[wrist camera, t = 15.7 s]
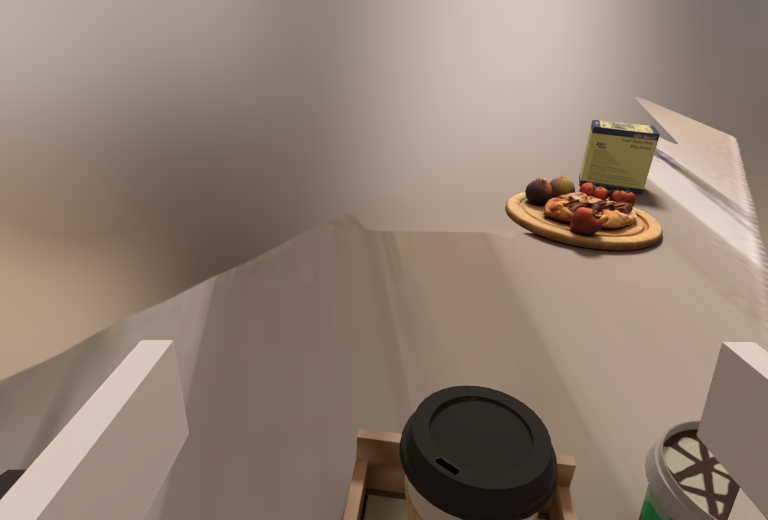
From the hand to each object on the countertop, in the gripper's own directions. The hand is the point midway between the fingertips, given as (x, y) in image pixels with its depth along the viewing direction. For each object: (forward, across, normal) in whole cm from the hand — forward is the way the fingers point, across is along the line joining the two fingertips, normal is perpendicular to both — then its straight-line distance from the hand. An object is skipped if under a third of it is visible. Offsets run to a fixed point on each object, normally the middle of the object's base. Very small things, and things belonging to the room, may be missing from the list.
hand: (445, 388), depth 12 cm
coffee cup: (+16, +4, -29) cm, 33 cm away
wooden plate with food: (+95, +41, -25) cm, 106 cm away
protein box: (+123, +58, -22) cm, 138 cm away
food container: (+21, +22, -30) cm, 42 cm away
